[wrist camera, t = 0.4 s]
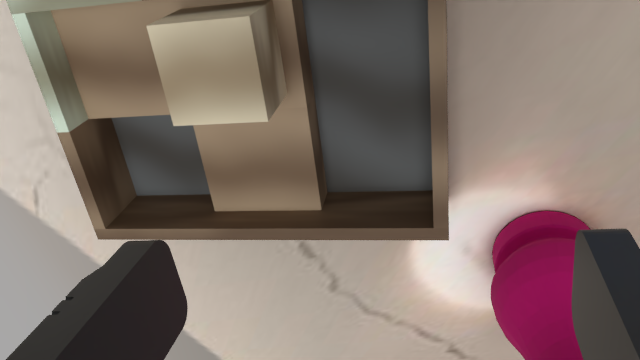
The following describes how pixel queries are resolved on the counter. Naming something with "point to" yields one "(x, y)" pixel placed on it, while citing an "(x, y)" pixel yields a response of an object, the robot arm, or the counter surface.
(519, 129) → the counter surface
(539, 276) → the pepper mill
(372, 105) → the tray
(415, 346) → the counter surface
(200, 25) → the maple block
